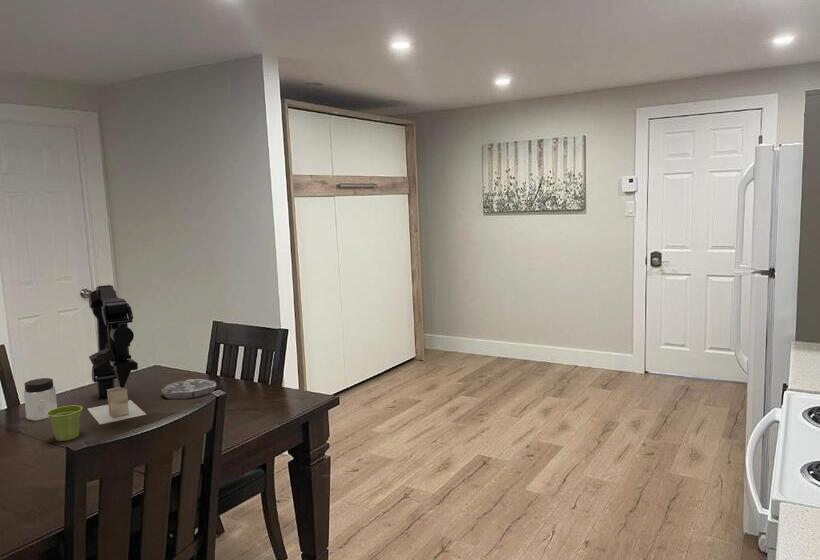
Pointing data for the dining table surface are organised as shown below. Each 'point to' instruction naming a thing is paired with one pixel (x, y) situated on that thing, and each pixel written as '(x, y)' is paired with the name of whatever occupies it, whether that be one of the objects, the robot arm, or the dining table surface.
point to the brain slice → (188, 389)
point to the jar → (39, 398)
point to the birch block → (118, 402)
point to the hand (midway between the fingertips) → (122, 387)
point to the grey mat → (103, 417)
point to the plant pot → (65, 422)
